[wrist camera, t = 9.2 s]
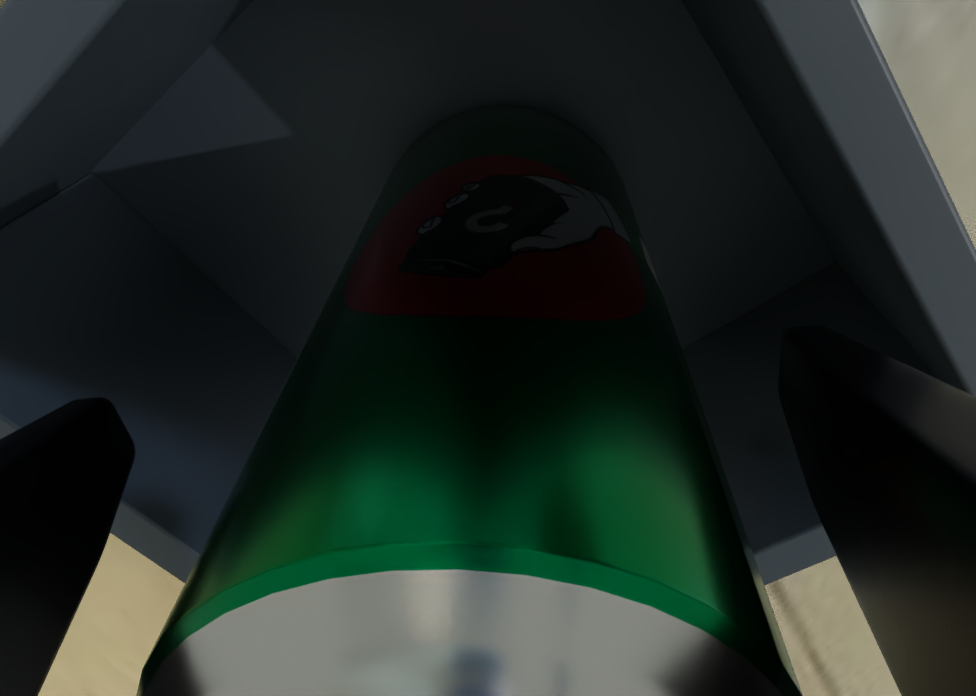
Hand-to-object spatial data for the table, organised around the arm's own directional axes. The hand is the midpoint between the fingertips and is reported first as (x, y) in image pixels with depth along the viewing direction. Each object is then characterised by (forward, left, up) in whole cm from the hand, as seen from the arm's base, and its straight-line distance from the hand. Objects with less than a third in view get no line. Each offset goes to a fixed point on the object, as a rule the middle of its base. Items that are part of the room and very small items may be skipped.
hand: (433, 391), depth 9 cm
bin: (0, 0, -7) cm, 7 cm away
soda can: (-1, 0, -6) cm, 6 cm away
